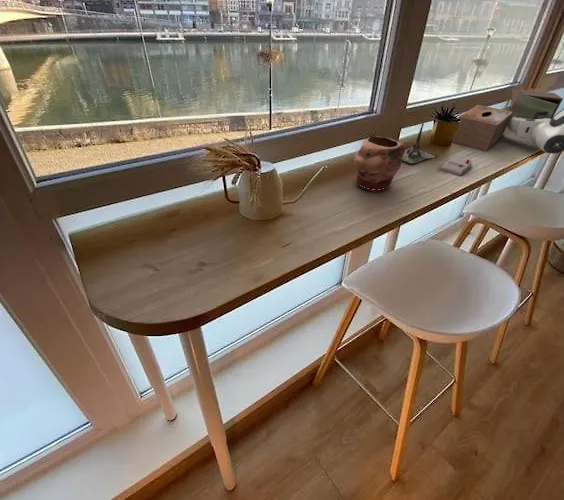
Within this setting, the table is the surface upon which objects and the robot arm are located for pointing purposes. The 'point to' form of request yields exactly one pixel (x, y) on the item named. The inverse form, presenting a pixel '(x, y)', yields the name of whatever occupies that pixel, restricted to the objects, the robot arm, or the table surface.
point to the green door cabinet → (538, 95)
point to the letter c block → (536, 109)
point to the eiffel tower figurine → (416, 152)
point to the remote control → (456, 166)
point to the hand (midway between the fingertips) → (532, 120)
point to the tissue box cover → (482, 126)
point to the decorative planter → (378, 162)
